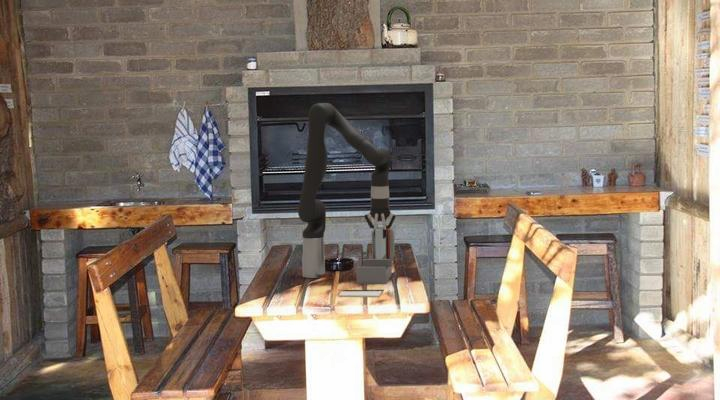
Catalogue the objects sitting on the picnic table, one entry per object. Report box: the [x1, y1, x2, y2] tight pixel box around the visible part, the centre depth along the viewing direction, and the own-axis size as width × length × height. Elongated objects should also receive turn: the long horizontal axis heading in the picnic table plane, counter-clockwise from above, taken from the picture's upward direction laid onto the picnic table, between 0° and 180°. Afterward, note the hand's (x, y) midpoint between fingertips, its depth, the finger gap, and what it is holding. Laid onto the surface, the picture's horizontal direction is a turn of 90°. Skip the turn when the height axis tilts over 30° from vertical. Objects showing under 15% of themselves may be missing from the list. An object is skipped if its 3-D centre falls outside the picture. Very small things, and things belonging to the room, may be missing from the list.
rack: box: [355, 258, 393, 285], centre depth 374 cm, size 12×18×8 cm, turn 171°
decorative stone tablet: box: [371, 226, 396, 266], centre depth 402 cm, size 19×6×30 cm
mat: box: [338, 289, 385, 298], centre depth 354 cm, size 16×14×1 cm
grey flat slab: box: [375, 224, 386, 259], centre depth 372 cm, size 2×13×12 cm, turn 171°
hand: (380, 238), depth 372 cm, fingers closed on grey flat slab, 2 cm apart
